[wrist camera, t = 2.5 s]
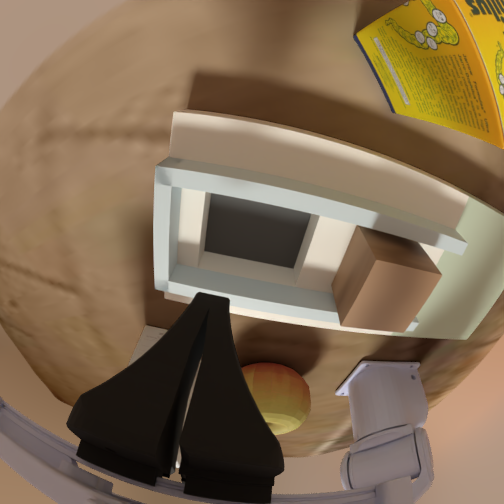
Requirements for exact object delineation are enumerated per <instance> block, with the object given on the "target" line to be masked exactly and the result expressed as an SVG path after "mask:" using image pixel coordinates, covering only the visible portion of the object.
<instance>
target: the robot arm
mask: <svg viewBox="0 0 504 504" xmlns="http://www.w3.org/2000/svg"><path fill="white" fill-rule="evenodd" d="M202 354H203V355H202ZM201 357H202V359H201ZM200 360H201V363H200ZM199 364H200V367H199ZM419 366H420V363H419V362H382V361H362V362H360V363H359V365H358V366H357V367H356V368H355V370H354V371H353V372H352V373H351V374H350V376H349V377H348V378H347V379H346V380H345V381H344V383H343V384H342V385H341V386H340V387H339V388H338V389H337V390H336V392H335V394H336V395H344V396H348V397H349V404H350V411H351V419H352V427H353V436H354V444H351V445H350V451H348V452H347V453H346V454H345V456H344V458H343V459H342V462H341V467H340V476H341V482H342V485H343V488H344V489H345V491H338V492H327V493H315V494H272V486H274V477H275V476H277V475H279V474H281V473H282V472H283V471H284V459H283V454H282V450H281V447H280V443H279V441H278V440H277V438H276V437H275V435H274V434H273V432H272V431H271V429H270V428H269V426H268V424H267V423H266V421H265V419H264V418H263V416H262V414H261V412H260V411H259V409H258V407H257V404H256V402H255V400H254V398H253V396H252V394H251V392H250V390H249V388H248V385H247V383H246V380H245V378H244V375H243V372H242V369H241V366H240V363H239V360H238V356H237V353H236V349H235V345H234V340H233V335H232V330H231V323H230V299H229V298H227V297H222V296H217V295H213V294H208V293H203V292H198V293H196V295H195V297H194V298H193V300H192V301H191V303H190V304H189V306H188V307H187V308H186V310H185V311H184V312H183V314H182V315H181V316H180V317H179V318H178V320H177V321H176V322H175V323H174V324H173V326H172V327H171V328H170V329H169V330H168V331H167V332H166V333H165V334H164V335H163V336H162V337H161V338H160V339H159V340H158V341H157V342H156V343H155V344H154V345H153V346H152V347H151V348H150V349H149V350H148V351H147V352H145V353H144V354H143V355H142V356H141V357H140V358H138V359H137V360H136V361H135V362H133V363H132V364H131V365H129V366H128V367H127V368H125V369H124V370H123V371H121V372H120V373H118V374H116V375H115V376H113V377H112V378H110V379H109V380H107V381H106V382H104V383H102V384H101V385H99V386H97V387H95V388H93V389H91V390H89V391H87V392H85V393H83V394H82V395H81V396H80V397H79V399H78V400H77V402H76V403H75V405H74V407H73V409H72V411H71V413H70V416H69V418H68V421H67V423H66V424H67V427H68V428H69V429H70V430H71V431H72V432H73V433H74V434H75V435H76V436H78V437H79V438H80V439H81V441H80V444H79V447H78V446H76V445H74V444H72V443H70V442H68V441H66V440H64V439H62V438H60V437H58V436H57V435H55V434H53V433H51V432H50V431H48V430H46V429H45V428H43V427H41V426H40V425H38V424H37V423H35V422H33V421H32V420H30V419H29V418H27V417H26V416H24V415H23V414H21V413H20V412H19V411H17V410H15V409H14V408H13V407H12V406H10V405H9V404H7V403H6V402H5V401H4V400H3V399H2V398H1V397H0V458H1V459H2V460H3V461H4V462H5V463H7V464H8V465H9V466H10V467H11V468H12V469H13V470H14V471H16V472H17V473H18V474H19V475H20V476H22V477H23V478H24V479H25V480H26V481H28V482H29V483H30V484H32V485H33V486H34V487H35V488H37V489H38V490H40V491H41V492H42V493H44V494H45V495H47V496H48V497H49V498H51V499H52V500H54V501H55V502H57V503H58V504H145V503H142V502H139V501H135V500H132V499H129V498H126V497H124V496H120V495H118V494H115V493H112V487H113V483H111V482H109V481H106V480H104V479H102V478H100V477H98V476H96V475H93V474H91V473H89V472H87V471H85V470H83V469H81V468H79V467H78V465H77V463H76V461H77V462H80V463H82V464H84V465H86V466H88V467H90V468H92V469H94V470H97V471H99V472H101V473H104V474H106V475H108V476H111V477H114V478H116V479H119V480H121V481H124V482H127V483H130V484H133V485H136V486H139V487H142V488H145V489H149V490H152V491H155V492H159V493H163V494H167V495H170V496H175V497H179V498H184V499H188V500H194V501H199V502H205V503H211V504H415V502H416V501H417V500H418V499H419V498H420V497H421V496H422V495H423V494H424V493H425V492H426V491H427V490H428V489H429V488H430V486H431V485H432V481H433V480H434V473H433V459H432V452H431V447H430V443H429V439H428V436H427V432H426V430H425V429H423V428H422V426H423V425H424V423H425V421H426V419H427V415H428V403H427V399H426V396H425V393H424V389H423V386H422V383H421V380H420V377H419V374H418V371H417V368H418V367H419ZM198 367H199V371H198V374H197V378H196V382H195V386H194V389H193V393H192V397H191V400H190V404H189V408H188V412H187V415H186V419H185V422H184V418H185V413H186V408H187V403H188V399H189V395H190V391H191V388H192V385H193V382H194V379H195V376H196V373H197V370H198ZM183 423H184V426H183ZM182 428H183V429H182ZM179 446H180V452H181V462H180V467H179V474H181V477H182V479H181V481H182V483H180V482H176V481H171V480H168V479H164V478H162V476H164V477H168V478H169V477H170V475H171V474H173V473H174V472H175V468H176V462H177V456H178V450H179ZM417 477H418V478H417ZM414 478H417V480H416V481H415V482H413V483H412V482H411V480H412V479H414Z"/></svg>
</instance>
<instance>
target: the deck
mask: <svg viewBox="0 0 504 504" xmlns="http://www.w3.org/2000/svg"><path fill="white" fill-rule="evenodd" d="M356 225H359V226H363V227H367V228H371V229H375V230H378V231H382V232H385V233H389V234H393V235H396V236H400V237H403V238H407V239H410V240H413V241H417V242H418V243H419V244H420V245H421V246H422V248H423V249H424V250H425V252H426V253H427V254H428V256H429V257H430V258H431V260H432V261H433V262H434V264H435V265H436V267H437V268H438V269H439V271H440V272H441V274H442V277H441V278H440V280H439V282H438V283H437V285H436V287H435V288H434V290H433V291H432V293H431V295H430V296H429V298H428V299H427V301H426V302H425V304H424V305H423V307H422V308H421V310H420V311H419V312H418V314H417V315H416V317H415V318H414V320H413V321H412V322H411V324H410V325H409V326H408V328H407V329H406V331H405V332H404V333H399V332H388V331H378V330H369V329H360V328H351V327H343V326H340V321H339V317H338V312H337V308H336V304H335V299H334V295H333V291H332V287H331V284H332V282H333V280H334V277H335V275H336V273H337V271H338V268H339V266H340V264H341V261H342V259H343V257H344V254H345V252H346V250H347V247H348V245H349V243H350V240H351V238H352V235H353V233H354V230H355V228H356ZM153 247H154V280H155V289H157V290H161V291H164V295H165V299H169V300H173V301H177V302H182V303H186V304H190V303H191V301H192V300H193V298H194V297H195V295H196V293H198V292H203V293H208V294H213V295H217V296H222V297H227V298H229V299H230V313H234V314H239V315H245V316H250V317H256V318H261V319H267V320H273V321H279V322H285V323H292V324H298V325H305V326H312V327H319V328H327V329H335V330H343V331H351V332H360V333H370V334H381V335H392V336H405V337H419V338H438V339H467V338H468V337H469V336H470V335H471V334H472V332H473V331H474V330H475V329H476V327H477V326H478V325H479V323H480V322H481V321H482V319H483V318H484V317H485V315H486V314H487V313H488V311H489V310H490V309H491V307H492V306H493V304H494V303H495V301H496V300H497V298H498V297H499V295H500V294H501V292H502V291H503V289H504V213H502V212H501V211H499V210H497V209H496V208H494V207H492V206H491V205H489V204H487V203H486V202H484V201H482V200H480V199H479V198H477V197H475V196H473V195H471V194H470V193H468V192H466V191H464V190H462V189H460V188H458V187H456V186H454V185H452V184H450V183H448V182H446V181H444V180H442V179H440V178H438V177H436V176H434V175H432V174H429V173H427V172H425V171H423V170H420V169H418V168H416V167H413V166H411V165H409V164H406V163H404V162H401V161H399V160H396V159H394V158H391V157H389V156H386V155H383V154H381V153H378V152H375V151H372V150H369V149H367V148H364V147H361V146H358V145H355V144H352V143H349V142H345V141H342V140H339V139H336V138H332V137H329V136H325V135H322V134H318V133H314V132H311V131H307V130H303V129H299V128H295V127H291V126H286V125H282V124H277V123H273V122H268V121H263V120H258V119H253V118H247V117H241V116H235V115H229V114H222V113H215V112H208V111H199V110H190V109H185V110H180V111H175V112H174V114H173V122H172V130H171V139H170V148H169V157H168V158H166V159H165V160H164V161H162V162H161V163H159V164H158V165H156V167H155V185H154V219H153Z"/></svg>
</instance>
